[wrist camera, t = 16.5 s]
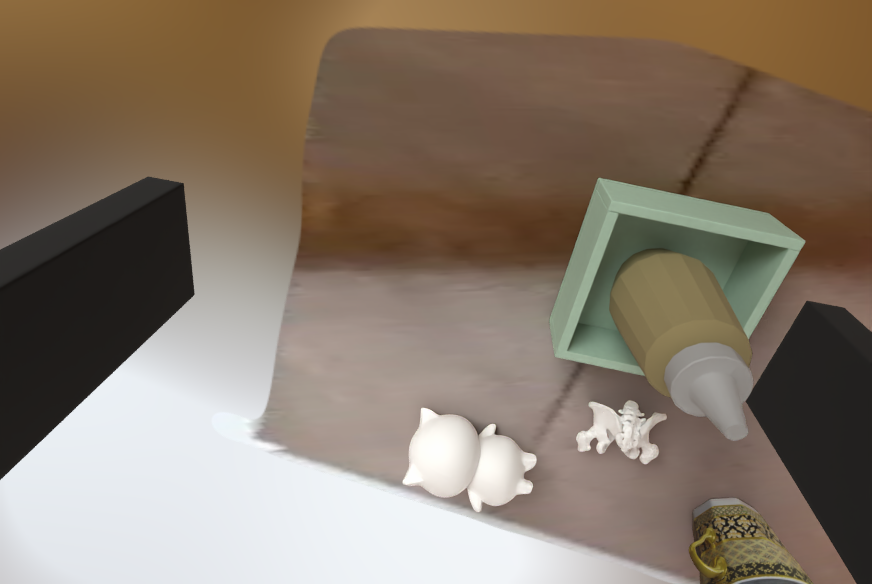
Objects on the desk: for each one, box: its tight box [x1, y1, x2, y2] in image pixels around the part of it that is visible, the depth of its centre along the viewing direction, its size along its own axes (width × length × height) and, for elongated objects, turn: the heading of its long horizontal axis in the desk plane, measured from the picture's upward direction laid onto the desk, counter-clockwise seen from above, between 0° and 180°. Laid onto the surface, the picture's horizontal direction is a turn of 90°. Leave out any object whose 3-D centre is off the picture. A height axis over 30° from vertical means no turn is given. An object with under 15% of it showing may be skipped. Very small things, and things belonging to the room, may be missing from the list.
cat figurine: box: [403, 408, 537, 512], centre depth 52 cm, size 9×11×12 cm
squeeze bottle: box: [609, 248, 754, 441], centre depth 35 cm, size 8×8×18 cm
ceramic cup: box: [689, 498, 813, 584], centre depth 52 cm, size 13×10×10 cm
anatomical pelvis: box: [576, 401, 667, 464], centre depth 50 cm, size 8×4×7 cm
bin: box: [549, 178, 805, 376], centre depth 41 cm, size 14×14×6 cm
